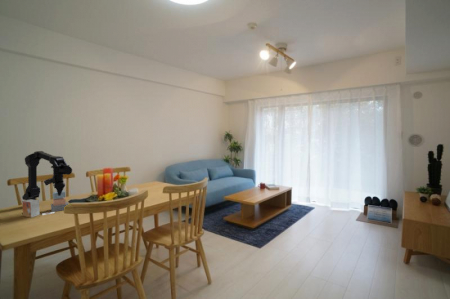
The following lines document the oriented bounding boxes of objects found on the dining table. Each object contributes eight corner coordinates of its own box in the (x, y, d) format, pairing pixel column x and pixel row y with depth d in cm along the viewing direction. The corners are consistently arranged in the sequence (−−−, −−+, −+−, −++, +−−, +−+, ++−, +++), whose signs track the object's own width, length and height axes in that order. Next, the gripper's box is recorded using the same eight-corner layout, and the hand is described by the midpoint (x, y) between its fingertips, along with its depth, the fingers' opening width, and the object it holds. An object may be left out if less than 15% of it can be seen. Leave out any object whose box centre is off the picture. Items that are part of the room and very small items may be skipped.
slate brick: (52, 197, 169) (52, 192, 168) (64, 196, 173) (64, 190, 173) (53, 199, 165) (53, 193, 165) (65, 197, 170) (65, 192, 169)
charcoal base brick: (50, 209, 169) (50, 204, 169) (67, 206, 176) (67, 201, 176) (51, 212, 163) (51, 206, 163) (68, 209, 170) (68, 204, 170)
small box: (22, 216, 156) (21, 201, 155) (31, 213, 161) (31, 198, 160) (31, 217, 153) (30, 202, 153) (40, 214, 159) (39, 199, 158)
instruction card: (41, 213, 161) (41, 213, 161) (54, 211, 165) (54, 211, 165) (42, 215, 157) (42, 215, 157) (54, 213, 162) (54, 212, 162)
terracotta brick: (53, 204, 169) (53, 198, 169) (64, 202, 174) (64, 197, 173) (53, 205, 165) (53, 200, 165) (65, 204, 170) (65, 198, 170)
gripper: (43, 173, 170) (44, 194, 171) (44, 177, 156) (45, 199, 157) (61, 171, 177) (62, 191, 178) (64, 175, 163) (65, 196, 164)
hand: (59, 194), depth 169 cm, fingers closed on slate brick, 5 cm apart
